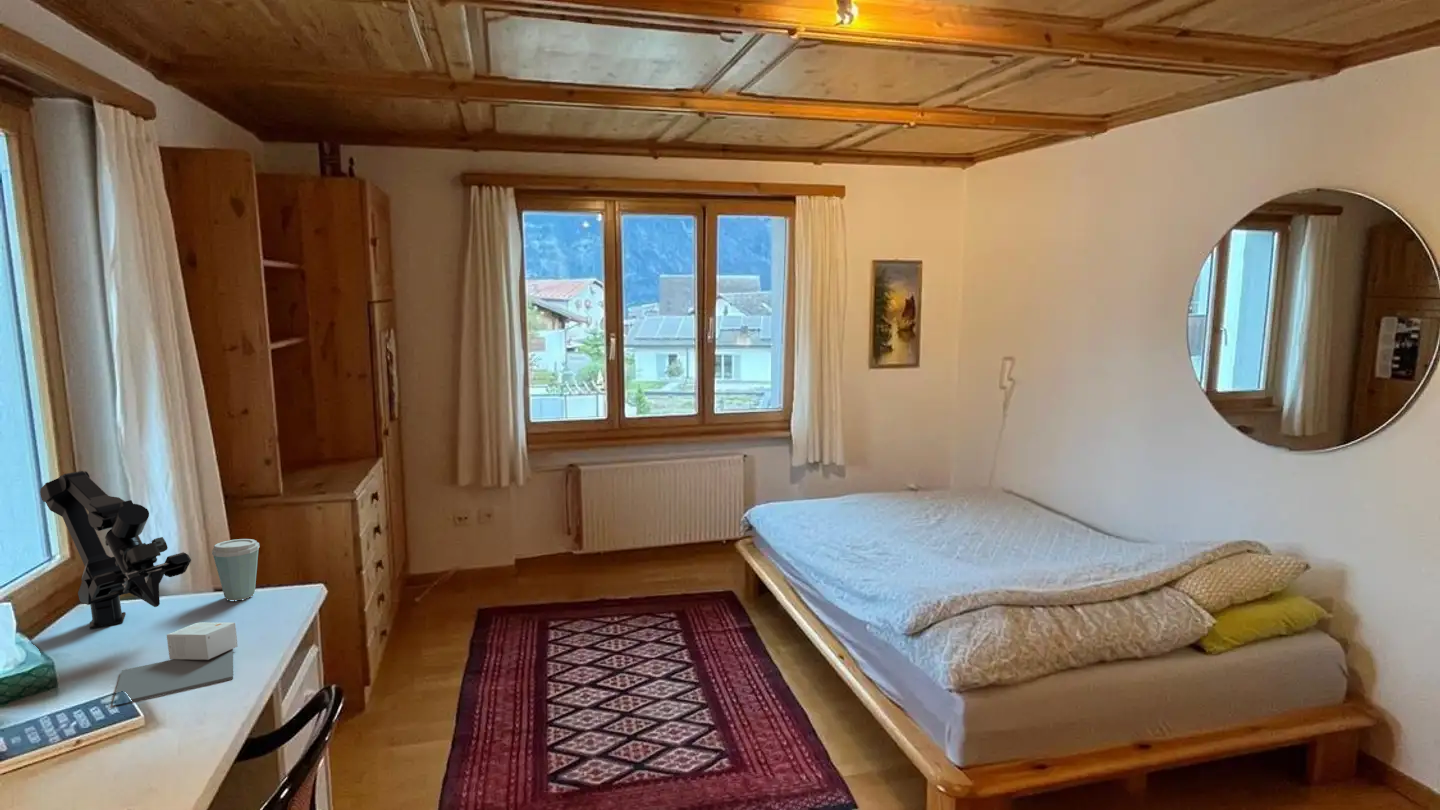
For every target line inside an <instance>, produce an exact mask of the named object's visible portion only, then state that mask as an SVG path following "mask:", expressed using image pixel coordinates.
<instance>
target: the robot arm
mask: <svg viewBox="0 0 1440 810" xmlns="http://www.w3.org/2000/svg"><path fill="white" fill-rule="evenodd" d="M39 494H40V498H41V500H42V501H43V502H44V503H45V504H46V505H47V508H48V509H49V510H50V511H51V512H53V513H55V514H56V515H58V516H60V517H62V519H63V521H64V524H65V525H66V528H67V530H68V533H69V535H70V536H71V539H72V541H73V543H74V545H75V546H74V547H76V550H77V552H78V554H79V557H80V559H81V560H82V563H83V565H84V569H83V572H82V576H81V583H80V586H79V589H78V592H77V595H78V599H79V602H80V603H82V604H85V605H87V606H90V612H91V613H90V614H91V618H92V619H91V622H90V624H89V626H88V627H89V629H91V630H93V629H95V628H96V629H97V628H101V627H102V628H103V627H107V626H112V625H118V624H122V623H124V621H125V617H126V612H125V611H122V605H121V604H122V603H121V599H120V598H121V597H120V596H123V595H128V594H131V595H132V596H134V597H137V598H139V599H141V600H142V601H144V602H145V603H147V604H149V605H151V606H152V607H154V608H157V607H160V604H161V603H160V602H161V601H160V584H161V582H162V579H163V578H164V576H165V577H168V578H173V577H175V576H176V577H177V576H180V575H183V574H184V573H186V571H187V570H188V567H189V566H190V564H191V562H192V559H191V557H190V555H189V554H188V553H187V552H184V551H183V552H180V553H176V554H172V555H169V556H166V559H165V561H164V562H162V563H161V564H160V563H159V564H156V565H154V564H155V563H157V561H158V558H157V557H161V555H162V554H161V553H164V552H166V551H167V550H168V544H167V542H166V540H165V538H164V537H163V536H161V537H157V538H153V539H152V540H151V542H149V543H146V542H142V540H141V538H140V535H141V534H142V533H143V531H144V530H145V529H144V528H145V526H146V524H147V522H148V519H149V518H150V512H149V509H148V508H146V507H145V506H143V505H141V504H138V503H134V502H133V501H132V500H131V499H128V500H124V499H122V498H121V497H117V496H111V495H108V494H107V493H106V492H105V491H104V490H103V488H101V487H100V486H99V485H98V484H97V483H95V481H93V480H92V479H91V478H90V475H89V473H88V471H85V470H84V471H83V470H80V471H73V472H68V473H63V474H62V475H60V476H59V477H58V478H55V479H53V480H50V481H48V482H45V484H43V486H42V487H41V488H40V489H39ZM104 530H105V531H106V530H108V531H107V533H106V534H105V537H104V539H105V540H104V541H105V542H104V543H105V546H107V547H109V549H110V551H111V553H112V555H113V556H109V555H108V554H107V552H106V549H105V548H104V545H103V543H102V541H101V540H100V537H99V535H98V532H101V531H104Z"/></svg>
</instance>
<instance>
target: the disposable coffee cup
mask: <svg viewBox="0 0 1440 810" xmlns="http://www.w3.org/2000/svg"><path fill="white" fill-rule="evenodd" d="M259 548H260V542H258V541H257V540H255V539H253V538H252V539H251V538H239V539H237V538H236V539H231V540H225V541H221V542H218V543H216V544H215V545H213V549H212V550H211V555H212V556H213V561H214V563H215V567H216V571H217V574H218V577H219V581H220V582H219V583H220V584H221V588H222V593H223V596H224V598H225V600H226V599H228V600H234V601H235V600H242V599H246V598H249V597H251V596H254V595H255V592H256V585H257V584H256V583H257V582H256V581H257V571H258V558H259ZM253 594H254V595H253ZM251 598H252V597H251ZM249 599H250V598H249ZM228 600H227V601H228ZM246 600H247V599H246ZM234 601H233V602H234ZM242 601H243V600H242ZM235 602H236V601H235Z"/></svg>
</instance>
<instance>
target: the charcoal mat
mask: <svg viewBox="0 0 1440 810" xmlns="http://www.w3.org/2000/svg"><path fill="white" fill-rule="evenodd" d="M233 679H234V648H233V649H231V650H229V651H227V652H224V653H222V654H220V655H218V656H216V657H213V658H211V659H209V660H190V659H168V660H165V661H160V662H156V663H155V662H154V663H150V664H146V665H141V666H136V667H131V668H127V669H122V670H121V672H120V675H119V678H118V682H117V685H116V690H115V693H117V692H121V691H124V692H126V693H127V694H128V696H129V697H130V698H131V700H132V701H133V702H132V703H135V702H139V701H142V700H147V699H151V698H155V697H161V696H165V695H169V694H173V693H178V692H182V691H186V690H190V689H191V690H192V689H195V688H199V687H203V686H208V685H212V684H217V683H221V682H226V681H231V680H233Z"/></svg>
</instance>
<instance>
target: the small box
mask: <svg viewBox="0 0 1440 810" xmlns="http://www.w3.org/2000/svg"><path fill="white" fill-rule="evenodd" d="M237 636H238V635H237V628H236V622H204V621H203V622H202V621H201V622H195V623H193V624H191V625H188V626H185V627H183V628H180V629H178V630H176V631H173V632H170V633H167V634H166V640H167V649H168V655H169V657H168V658H169V660H173V659H190V660H209V659H211V658H213V657H216V656H218V655H220V654H222V653H224V652H227V651H229V650H231V649H233V650H234V649H235V648H237V647H238V637H237Z"/></svg>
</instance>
